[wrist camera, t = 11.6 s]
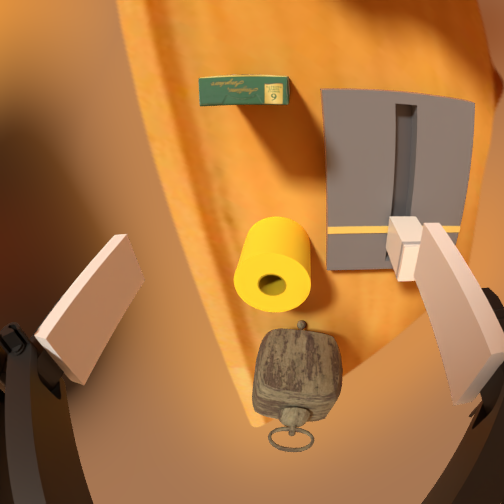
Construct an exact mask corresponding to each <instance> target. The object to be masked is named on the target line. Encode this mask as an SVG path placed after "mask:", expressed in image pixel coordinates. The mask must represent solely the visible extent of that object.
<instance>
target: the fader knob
mask: <svg viewBox="0 0 504 504" xmlns="http://www.w3.org/2000/svg"><path fill="white" fill-rule="evenodd" d="M422 231H423V227H422V225H421V224H420V222H419V220H418V219H417V217H416V216H389V225H388V234H387V242H386V250H387V252H388V255H389V258H390V261H391V263H392V266H393V269H394V272H395V274H396V279H397V280H398V281H415V279H414V276H413V275H414V271H415V266H416V262H417V257H418V252H419V247H420V242H421V236H422Z"/></svg>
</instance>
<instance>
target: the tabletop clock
mask: <svg viewBox="0 0 504 504" xmlns="http://www.w3.org/2000/svg"><path fill="white" fill-rule="evenodd" d="M297 326H298V328H300V330H293V329H275V330H272V331H270V332H268V333H267V334H266V336H265V337H264V338H263V340H262V342H261V345H260V348H259V352H258V356H257V359H256V366H255V374H254V382H253V393H252V401H253V407H254V410H255V412H257V413H259V414H261V415H263V416H266V417H270V418H275V419H279V421H280V422H281V423H282V424H283V425H285V426H287V427H281V428H276V429H274V430H273V431H271V432H270V433H269V436H268V439H269V442H270V444H271V445H272V446H274V447H275V448H277V449H279V450H282V451H287V452H301V451H304V450H307V449H308V448H310V447H311V446H312V445H313V443H314V437H313V435H312V434H311V433H310V432H309V431H306V430H304V429H301V428H296V427H300V426H302V425H304V424H305V423H306V422H307V421H318V420H321V419H325V417H326V416H327V414H328V413H329V411H330V410H331V408H332V407H333V405H334V404H335V402H336V401H337V399H338V397H339V395H340V391H341V387H342V372H343V368H342V361H341V354H340V350H339V347H338V345H337V343H336V341H335V339H334V337H332V336H330V335H327V334H323V333H317V332H311V331H305V330H303V329H304V328H305V326H306V323H305V322H304V321H302V320H301V321H299V322H298V323H297ZM278 431H289V435H290V436H294V435H295V432H301V433H304V434H307V435H308V436H310V437H311V442H310V444H308V445H307V446H305V447H301V448H288V447H283V446H279V445H277V444H276V443H275V442H274V441H273V440H272V439H271V435H272V434H273V433H275V432H278Z"/></svg>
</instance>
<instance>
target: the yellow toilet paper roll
mask: <svg viewBox="0 0 504 504" xmlns="http://www.w3.org/2000/svg"><path fill="white" fill-rule="evenodd" d="M234 286H235V289H236V291H237V293H238V295H239V296H240V297H241V299H242V300H243V301H245V302H246V303H247V304H249V305H250V306H252V307H254V308H256V309H259V310H262V311H266V312H284V311H288V310H291V309H294V308H296V307H297V306H299V305H300V304H302V303H303V302H304V301H305V299H306V298H307V297H308V295H309V292H310V288H311V262H310V240H309V237H308V234H307V233H306V231H305V230H304V228H303V227H302V226H301V225H299V224H298V223H297V222H295V221H293V220H291V219H288V218H284V217H269V218H265V219H262V220H260V221H258V222H257V223H255V224H254V225H253V226H252V227H251V229H250V230H249V232H248V234H247V237H246V240H245V243H244V246H243V249H242V252H241V256H240V259H239V262H238V265H237V268H236V271H235V275H234Z"/></svg>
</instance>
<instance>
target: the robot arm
mask: <svg viewBox="0 0 504 504" xmlns="http://www.w3.org/2000/svg"><path fill="white" fill-rule="evenodd" d="M413 276H414V279H415V281H416V284H417V287H418V289H419V292H420V294H421V297H422V300H423V302H424V305H425V308H426V311H427V314H428V316H429V319H430V322H431V325H432V328H433V331H434V334H435V337H436V341H437V344H438V347H439V351H440V354H441V357H442V361H443V364H444V368H445V372H446V376H447V380H448V383H449V387H450V391H451V396H452V401H453V405H454V406H455V405H459V404H463V403H468V402H472V401H473V400H474V399H475V398H476V396H477V395H478V394H479V393H481V397H482V401H481V402H480V404H479V405H478V406H477V407H476V408H475V409H474V410H473V411H472V412H471V414H470V415H469V417H472V416H473V415H474V414H475V415H474V417H473V419H472V421H471V423H470V425H469V427H468V429H467V431H466V433H465V435H464V437H463V439H462V441H461V443H460V445H459V446H458V448H457V450H456V452H455V453H454V455H453V457H452V459H451V460H450V462H449V463H448V465H447V467H446V468H445V470H444V472H443V473H442V475H441V476H440V478H439V479H438V481H437V482H436V484H435V485H434V487H433V488H432V490H431V491H430V492H429V494H428V495H427V497H426V498H425V499H424V501H423V502H422V504H500V503H501V504H504V307H503V305H502V303H501V301H500V299H499V298H498V296H497V295H496V294H495V293H494V292H492V290H490V289H489V288H481V287H480V286H479V284H478V282H477V280H476V279H475V277H474V275H473V273H472V272H471V270H470V268H469V267H468V265H467V263H466V262H465V260H464V259H463V257H462V255H461V254H460V252H459V251H458V249H457V248H456V246H455V245H454V243H453V242H452V240H451V239H450V237H449V236H448V234H447V233H446V231H445V230H444V228H443V227H442V226H441V224H440V223H424V225H423V231H422V236H421V242H420V247H419V252H418V257H417V262H416V266H415V271H414V275H413ZM144 281H145V279H144V276H143V274H142V271H141V269H140V267H139V264H138V262H137V259H136V256H135V254H134V252H133V249H132V246H131V244H130V241H129V238H128V235H127V234H122V235H114V237H113V238H112V239H111V240H110V241H109V242H108V243H107V244H106V245H105V246H104V248H103V249H102V250H101V251H100V252H99V253H98V254H97V256H96V257H95V258H94V259H93V260H92V261H91V263H90V264H89V265H88V266H87V267H86V268H85V269H84V271H83V272H82V273H81V274H80V275H79V277H78V278H77V279H76V280H75V282H74V283H73V284H72V285H71V287H70V288H69V289H68V290H67V291H66V293H65V294H64V295H63V296H62V297H61V298H60V299H59V300H58V301H57V302H56V304H55V305H54V307H53V309H51V310H50V312H49V313H48V315H47V316H46V317H45V318H44V320H43V321H42V323H41V324H40V325H39V327H38V328H37V329H36V331H35V332H34V334H33V335H32V337H31V338H30V339H29V338H28V337H27V336H26V334H25V333H24V331H23V330H22V329H21V327H20V326H19V325H18V324H17V323H15V322H13V323H10V324H8V325H7V326H5V327H4V328H3V329H2V330H1V331H0V382H1V383H2V384H3V385H4V386H5V393H4V392H3V391H2V390H1V389H0V504H93V501H92V498H91V496H90V492H89V490H88V486H87V483H86V480H85V477H84V473H83V470H82V466H81V463H80V459H79V455H78V451H77V447H76V443H75V438H74V434H73V429H72V424H71V419H70V413H69V407H68V401H67V394H66V387H65V382H64V380H63V379H62V378H61V376H62V374H63V373H65V374H66V375H67V376H68V377H69V379H70V380H71V381H73V382H77V383H79V384H82V385H85V383H86V381H87V379H88V377H89V375H90V373H91V371H92V369H93V368H94V366H95V364H96V362H97V360H98V358H99V357H100V355H101V353H102V351H103V349H104V348H105V346H106V344H107V342H108V340H109V339H110V337H111V335H112V334H113V332H114V330H115V328H116V327H117V325H118V323H119V321H120V320H121V318H122V317H123V315H124V313H125V311H126V310H127V308H128V306H129V305H130V303H131V302H132V300H133V298H134V296H135V295H136V293H137V292H138V290H139V289H140V287H141V285H142V284H143V282H144ZM501 501H502V502H501Z"/></svg>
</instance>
